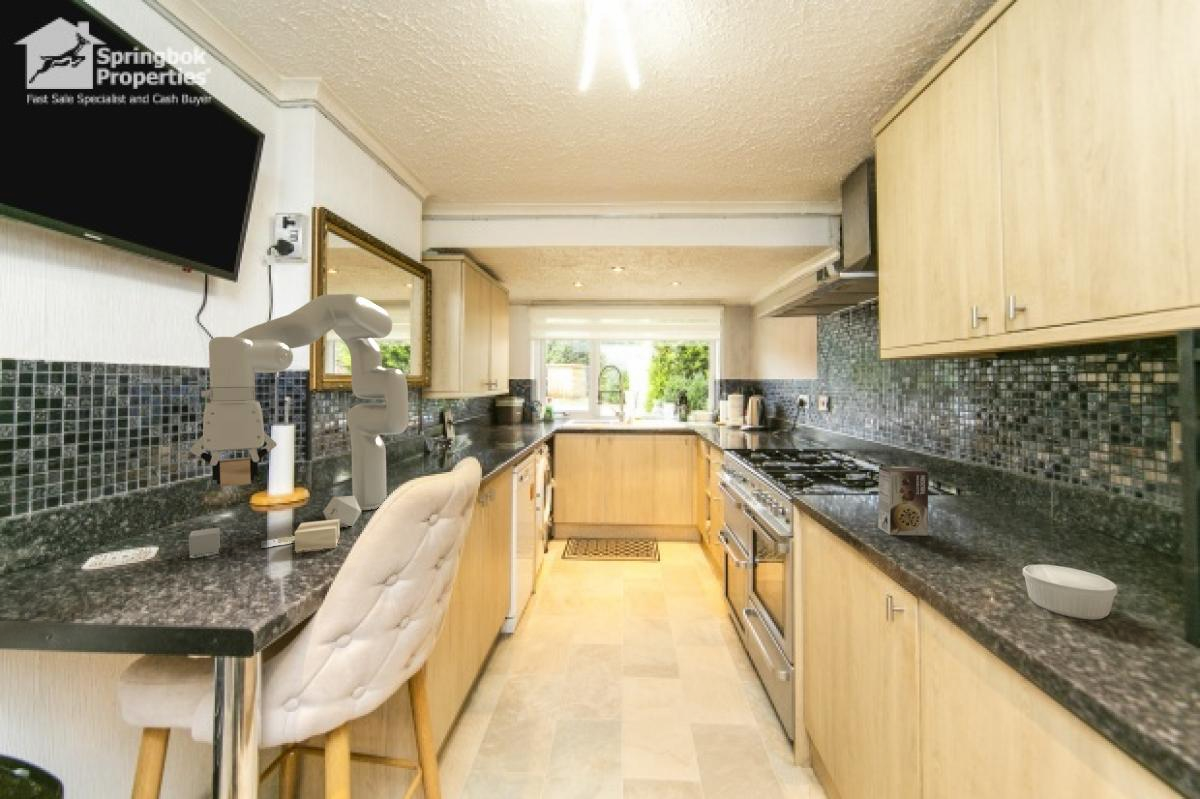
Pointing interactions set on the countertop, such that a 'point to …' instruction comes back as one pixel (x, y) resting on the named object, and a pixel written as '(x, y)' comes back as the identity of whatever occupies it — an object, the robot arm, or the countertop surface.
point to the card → (286, 539)
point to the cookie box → (903, 500)
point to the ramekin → (1069, 591)
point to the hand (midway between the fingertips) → (236, 480)
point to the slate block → (204, 541)
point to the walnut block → (235, 471)
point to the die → (343, 510)
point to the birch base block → (317, 535)
